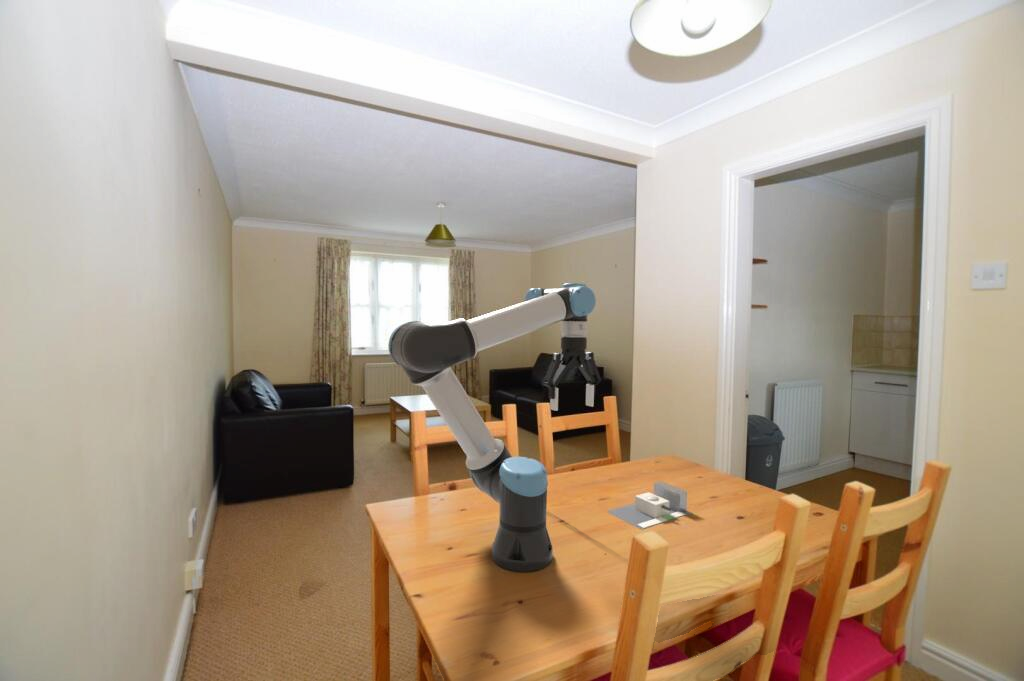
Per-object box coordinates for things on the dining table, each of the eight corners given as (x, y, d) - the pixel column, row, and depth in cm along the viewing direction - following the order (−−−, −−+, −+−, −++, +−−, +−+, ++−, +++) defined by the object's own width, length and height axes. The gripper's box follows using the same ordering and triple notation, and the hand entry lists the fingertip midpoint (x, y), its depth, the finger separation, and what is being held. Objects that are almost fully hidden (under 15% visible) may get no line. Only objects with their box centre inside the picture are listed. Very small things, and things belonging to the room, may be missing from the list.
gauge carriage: (662, 521, 134) (662, 507, 134) (634, 508, 143) (635, 495, 143) (676, 517, 137) (676, 503, 137) (648, 504, 146) (648, 491, 146)
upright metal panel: (679, 512, 140) (680, 493, 140) (653, 501, 149) (654, 482, 149) (686, 510, 142) (687, 491, 142) (660, 499, 151) (660, 481, 150)
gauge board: (641, 533, 129) (641, 528, 129) (606, 515, 141) (606, 510, 141) (692, 516, 141) (692, 511, 140) (655, 500, 152) (655, 496, 152)
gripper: (547, 337, 127) (545, 414, 128) (614, 336, 140) (612, 406, 141) (531, 336, 133) (530, 409, 134) (596, 335, 147) (595, 402, 148)
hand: (572, 407), depth 138 cm, fingers open, 13 cm apart
